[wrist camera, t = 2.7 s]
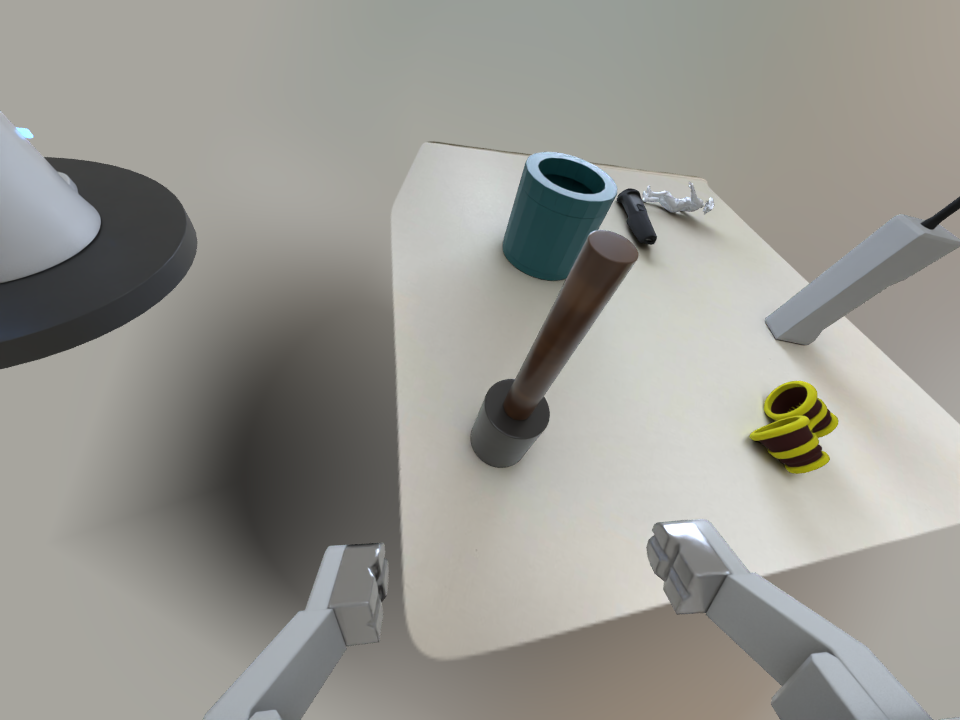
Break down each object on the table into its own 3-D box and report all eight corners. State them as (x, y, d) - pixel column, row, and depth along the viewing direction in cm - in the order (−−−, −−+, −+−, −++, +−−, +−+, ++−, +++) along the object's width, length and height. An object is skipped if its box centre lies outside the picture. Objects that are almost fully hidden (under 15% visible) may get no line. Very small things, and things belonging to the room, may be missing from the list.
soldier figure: (637, 197, 68) (703, 193, 66) (636, 222, 68) (701, 219, 66) (650, 181, 60) (725, 175, 58) (649, 209, 60) (723, 205, 58)
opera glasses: (778, 482, 34) (839, 474, 29) (738, 440, 34) (792, 426, 30) (798, 425, 39) (852, 411, 35) (762, 390, 40) (811, 372, 35)
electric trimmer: (631, 249, 54) (643, 232, 51) (614, 198, 63) (623, 181, 60) (653, 254, 54) (666, 237, 52) (632, 203, 63) (642, 186, 61)
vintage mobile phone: (806, 346, 47) (1101, 155, 27) (774, 339, 46) (1052, 140, 27) (793, 326, 49) (1057, 137, 29) (763, 320, 49) (1011, 123, 29)
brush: (470, 466, 28) (568, 278, 12) (469, 412, 31) (546, 202, 15) (529, 468, 29) (691, 295, 13) (522, 415, 32) (647, 220, 16)
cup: (505, 274, 43) (532, 190, 35) (499, 225, 50) (521, 144, 41) (584, 285, 45) (629, 208, 37) (569, 237, 52) (603, 162, 43)
